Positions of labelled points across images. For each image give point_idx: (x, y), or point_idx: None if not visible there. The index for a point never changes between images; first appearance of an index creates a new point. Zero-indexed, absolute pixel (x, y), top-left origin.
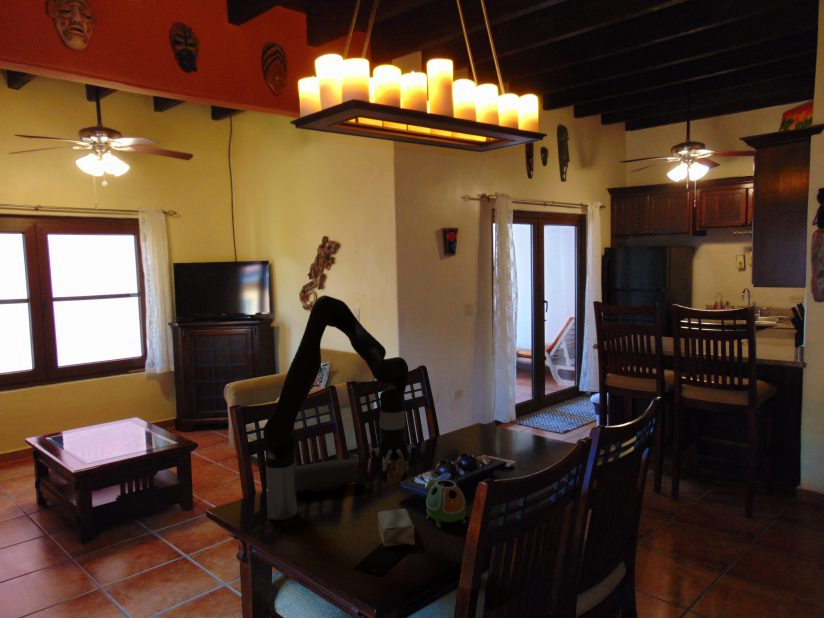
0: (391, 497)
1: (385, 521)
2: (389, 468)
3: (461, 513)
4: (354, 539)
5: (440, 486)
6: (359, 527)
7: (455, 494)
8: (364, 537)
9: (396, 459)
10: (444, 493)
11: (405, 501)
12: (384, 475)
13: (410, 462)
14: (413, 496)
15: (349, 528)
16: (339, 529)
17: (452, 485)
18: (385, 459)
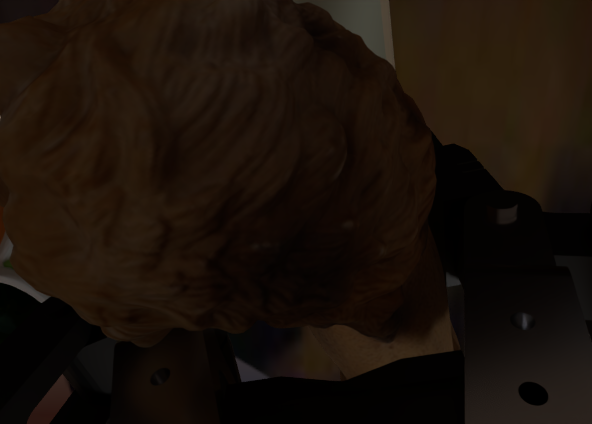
0: (334, 362)
1: (366, 31)
2: (429, 129)
3: None
4: (507, 24)
5: (28, 288)
6: (470, 145)
7: (30, 307)
8: (456, 45)
9: (257, 249)
10: (7, 238)
11: (282, 337)
12: (456, 167)
13: (40, 339)
14: (256, 366)
15: (515, 137)
16: (561, 128)
17: (8, 334)
18: (580, 327)
